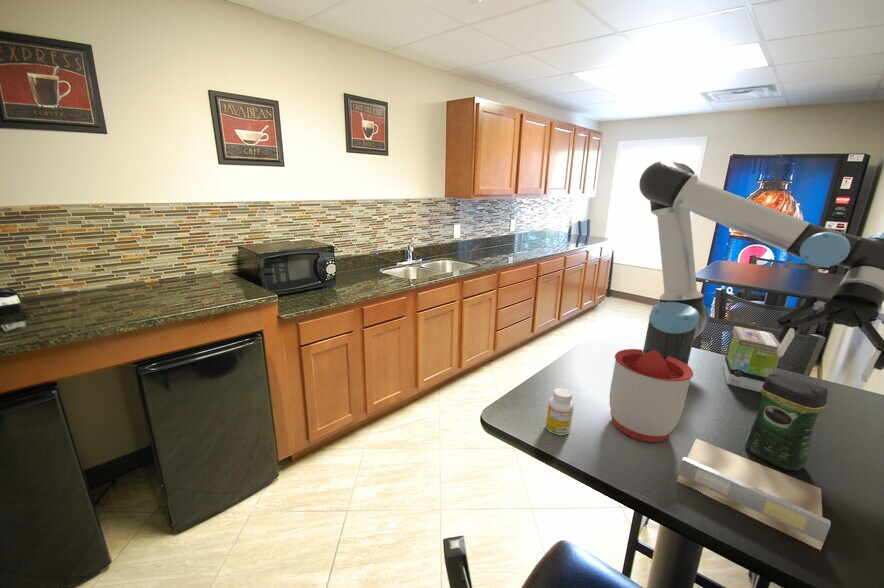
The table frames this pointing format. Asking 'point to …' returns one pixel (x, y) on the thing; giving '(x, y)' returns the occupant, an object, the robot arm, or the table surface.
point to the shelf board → (757, 486)
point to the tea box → (750, 358)
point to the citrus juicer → (648, 394)
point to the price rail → (756, 499)
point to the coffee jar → (786, 420)
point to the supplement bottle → (560, 412)
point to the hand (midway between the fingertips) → (818, 365)
